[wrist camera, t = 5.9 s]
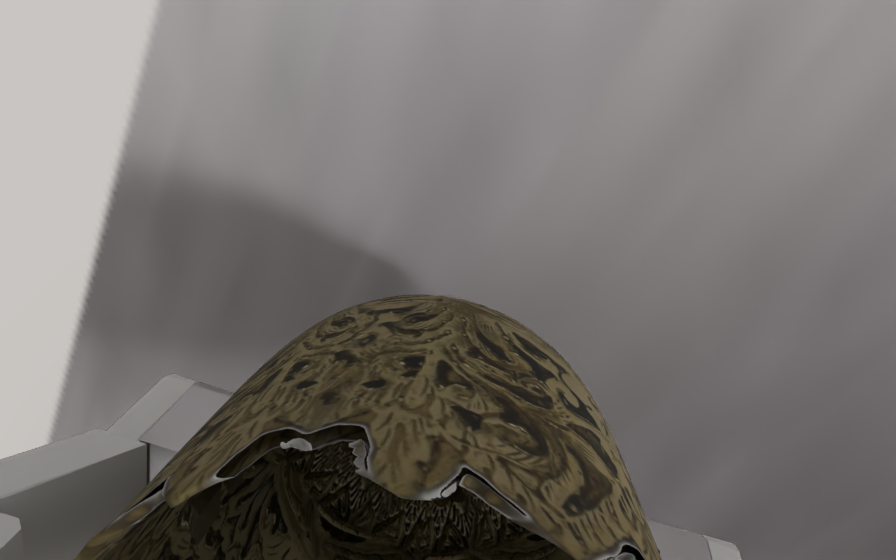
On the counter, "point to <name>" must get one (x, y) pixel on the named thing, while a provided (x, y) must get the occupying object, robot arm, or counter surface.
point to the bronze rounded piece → (398, 452)
